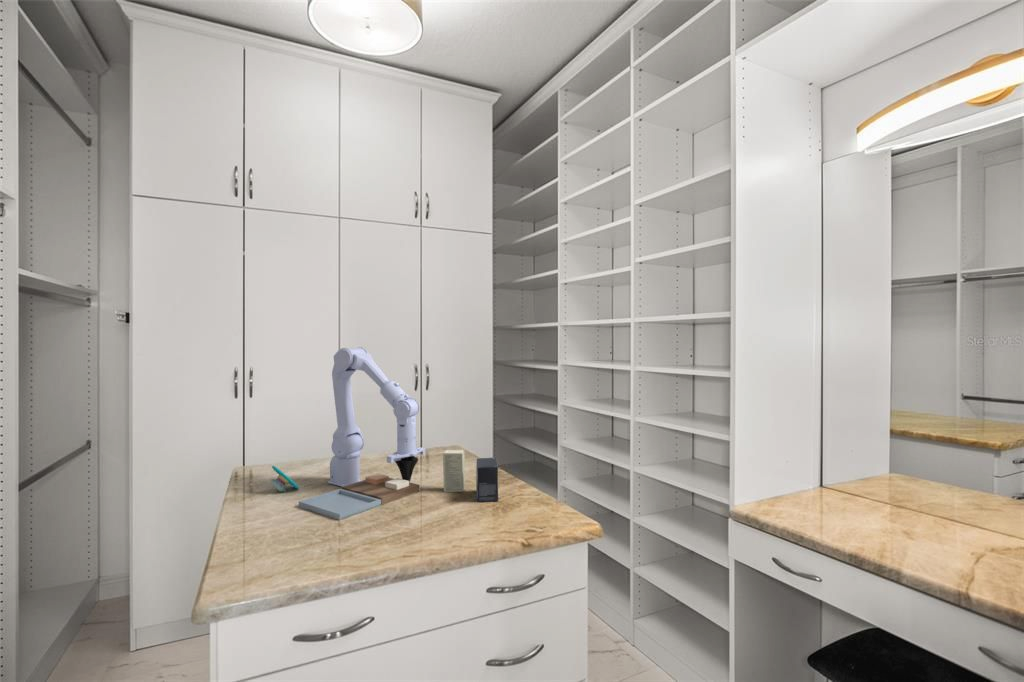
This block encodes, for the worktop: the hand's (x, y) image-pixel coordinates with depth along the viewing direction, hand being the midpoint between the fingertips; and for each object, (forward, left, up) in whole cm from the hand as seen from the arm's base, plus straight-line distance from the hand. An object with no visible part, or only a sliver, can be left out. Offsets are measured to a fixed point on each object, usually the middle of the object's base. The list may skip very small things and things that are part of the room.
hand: (406, 481), depth 157 cm
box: (-4, -21, -3) cm, 22 cm away
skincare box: (+13, +8, -3) cm, 15 cm away
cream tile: (0, -4, -1) cm, 4 cm away
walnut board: (-4, -6, -3) cm, 8 cm away
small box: (+25, +9, -3) cm, 26 cm away
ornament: (-30, -22, -3) cm, 38 cm away
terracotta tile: (-9, -4, -1) cm, 10 cm away
